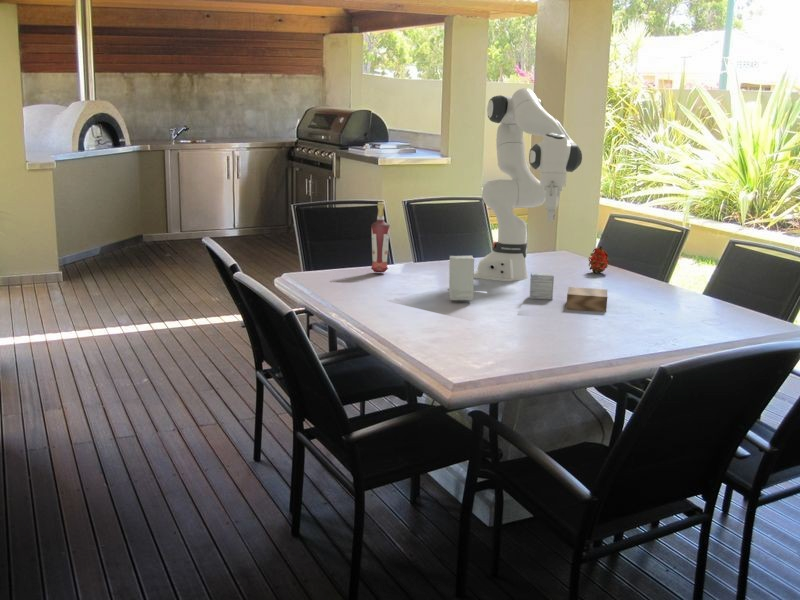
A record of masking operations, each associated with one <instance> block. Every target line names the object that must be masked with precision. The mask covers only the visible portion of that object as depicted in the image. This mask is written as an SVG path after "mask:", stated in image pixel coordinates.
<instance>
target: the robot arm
mask: <svg viewBox="0 0 800 600" xmlns="http://www.w3.org/2000/svg"><path fill="white" fill-rule="evenodd" d="M543 105H544V104H543V103H542V101H541V99H540V98H538V96H537V94H535V92H534V90H532V89H530V88H525V87H522V88H520V89H519V88H518V89H517V90H516V91H515V92H514V93H513V94H512V95H502V94H501V95H494V96H492V97H491V98H490V99H489V100H488V104H487V106H486V107H487V108H486V113H487V117H488V119H489V121H490V122H492V123H495V124H498V126H497V130H496V139H495V141H496V144H495V146H496V158H497V166H498V169H499V170H500V171H501V172H502V173H504V174H505V175H508V176H509V177H510V178H511V179H503V178H502V179H493V180H490V181H487V182H486V183H485V184H484V185H483V188H481V198H482V200H483V202H484V204H485V205H486V206H488V208H489V209H490V210H491V211H492V212H493V213H494V215H495V217H496V221H497V230H498V231H497V236H498V237H497V241H496V240H495V241H493V243H492V251H491V252H489V253H488V254H486V255H485V256H484V257H483V258H481V259H480V260H479V262H478V264H477V268H476V270H474V279H483V280H493V281H502V282H514V281H523V280H526V279H529V275H528V270H527V261H526V260H527V254H528V243H527V230H528V226H527V223H526V221H525V220H524V219H522V217H519V216H517V215H515V213H514V209H515V208H516V209H517V208H523V209H524V208H525V209H527V208H528V209H530V208H536V207H541V206H543V204H545V205H544V208H545V210H547V222H548V223H554V220H555V215H556V211H557V210H556V209H557V208H558V206H559V204H560V199H561V197H560V196H561V192H563V187H564V188H565V187H566V185H567V173H573V172H575V170H577V169H578V168H579V167H580V165H581V164H582V161H583V153H582V151H581V148H580V146H578V144H577V143H576V142H575V141H573V140H572V139H571V137H570V135H569V134H568V132H567V131H566V130H565V128H564V127H563V125H562V124H561V123H560V121H559V120H558V119H557V118H555V117H554V116H552V115H551V114H549V113H548V111H547V110H545V108H544V106H543ZM524 133H526V134H529V135H535V136H540V137H543V139H542V141H540V142H538V143H535V144H534V145H533V146H532V147H531V148H530V149H529V155H528V162H527V157H526V156H527V155H526V149H525V138H524ZM528 163H529V164H530V166H531V167H532V169H534V170H538V171H540V178H539V179H540V180H539V179H538V178H536V176H535V175H534V173H532V171H531V169H530V168H529V166H528V165H529V164H528Z"/></svg>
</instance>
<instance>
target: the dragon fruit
mask: <svg viewBox="0 0 800 600" xmlns="http://www.w3.org/2000/svg"><path fill="white" fill-rule="evenodd" d="M609 263H610V260H609V254H608V252H606V251H605V249H604V248H603V247H602V246H601V245H599V247H595V248H594V249H593V250H592V253H590V256H588V266H589V270H590V271H592V273H596V274H598V273H600V274H601V273H603V272H604V271H605V270H606V269H607V268H608V266H609Z"/></svg>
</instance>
